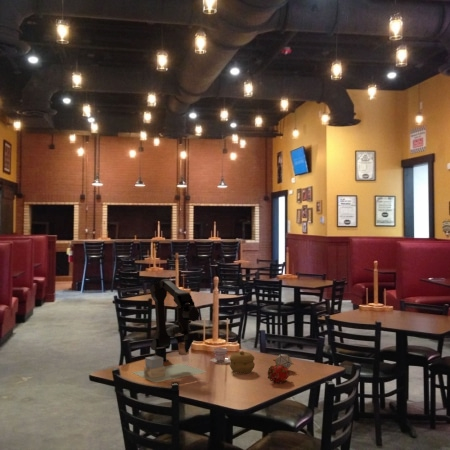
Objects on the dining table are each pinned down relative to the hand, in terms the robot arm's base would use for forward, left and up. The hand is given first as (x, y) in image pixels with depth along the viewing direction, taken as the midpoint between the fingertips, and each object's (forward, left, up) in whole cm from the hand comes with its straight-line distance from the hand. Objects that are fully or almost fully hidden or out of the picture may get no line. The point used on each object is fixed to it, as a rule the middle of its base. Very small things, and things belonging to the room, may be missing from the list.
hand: (183, 351), depth 251 cm
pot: (+21, +19, -9) cm, 30 cm away
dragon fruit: (+44, +21, -9) cm, 50 cm away
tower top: (0, -16, -4) cm, 17 cm away
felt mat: (0, -8, -9) cm, 12 cm away
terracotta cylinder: (0, 0, -1) cm, 1 cm away
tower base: (0, -16, -8) cm, 18 cm away
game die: (+31, +36, -9) cm, 48 cm away
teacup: (-3, +24, -9) cm, 26 cm away
